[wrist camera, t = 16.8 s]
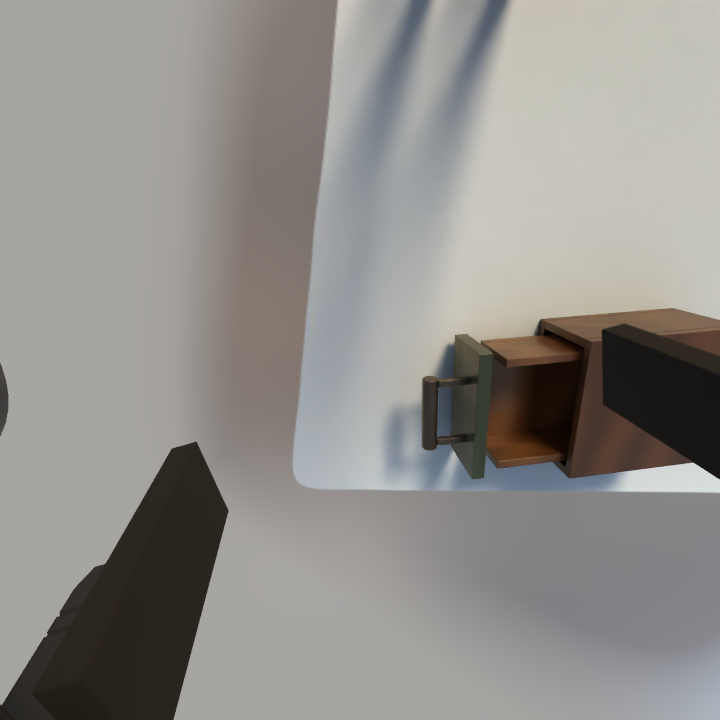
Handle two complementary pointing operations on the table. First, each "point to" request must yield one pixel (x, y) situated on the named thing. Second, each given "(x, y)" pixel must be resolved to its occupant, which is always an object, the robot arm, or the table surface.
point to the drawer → (507, 401)
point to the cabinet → (591, 418)
